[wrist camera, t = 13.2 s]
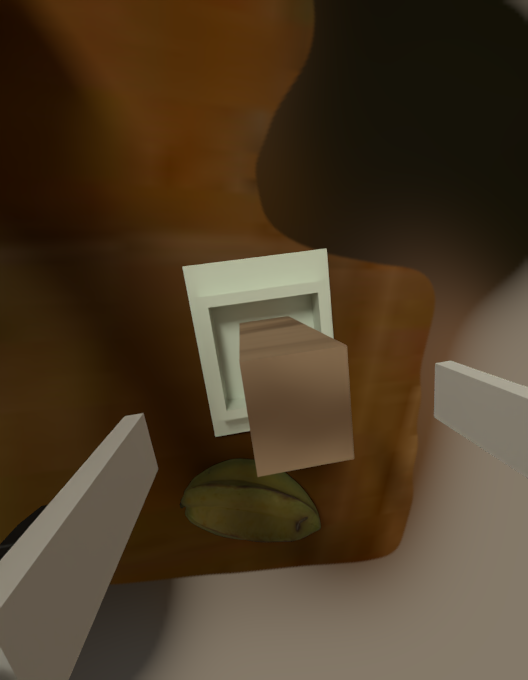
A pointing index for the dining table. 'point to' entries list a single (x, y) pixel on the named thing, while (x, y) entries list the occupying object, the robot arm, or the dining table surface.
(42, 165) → the dining table surface
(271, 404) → the wooden square post
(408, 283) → the dining table surface
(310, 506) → the fruit
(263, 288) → the holder plate
